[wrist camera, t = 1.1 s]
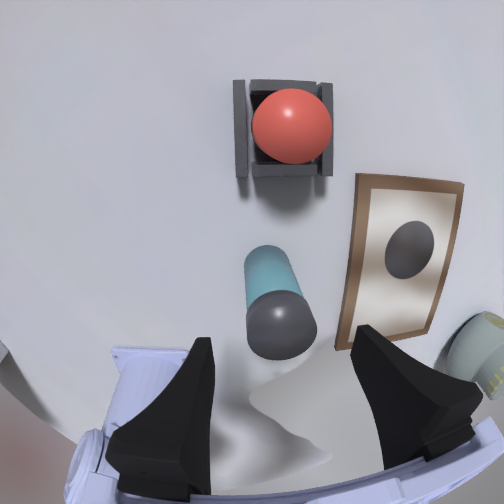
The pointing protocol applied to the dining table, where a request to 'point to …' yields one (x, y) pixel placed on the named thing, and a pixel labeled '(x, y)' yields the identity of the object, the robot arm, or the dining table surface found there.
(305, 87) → the button collar
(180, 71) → the dining table surface
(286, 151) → the button
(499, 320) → the air freshener
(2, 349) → the coffee box
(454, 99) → the dining table surface
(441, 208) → the picture frame
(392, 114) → the dining table surface
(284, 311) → the marker
